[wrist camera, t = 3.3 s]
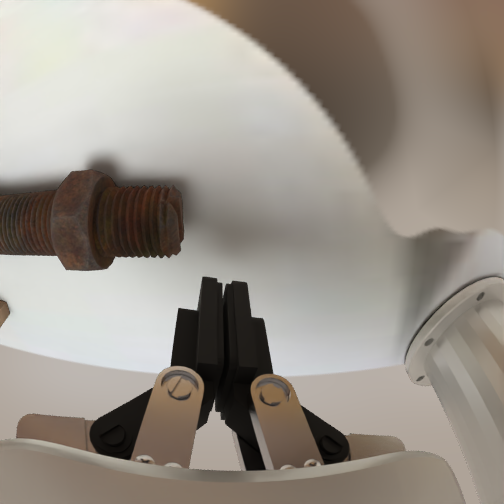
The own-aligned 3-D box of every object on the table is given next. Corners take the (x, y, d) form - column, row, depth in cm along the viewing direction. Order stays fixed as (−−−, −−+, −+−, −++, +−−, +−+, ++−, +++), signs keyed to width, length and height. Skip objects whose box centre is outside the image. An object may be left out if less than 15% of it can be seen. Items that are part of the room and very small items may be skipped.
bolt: (190, 205, 16) (-6, 212, 15) (184, 134, 12) (-40, 165, 10) (182, 305, 13) (-33, 287, 12) (165, 250, 9) (-79, 247, 7)
